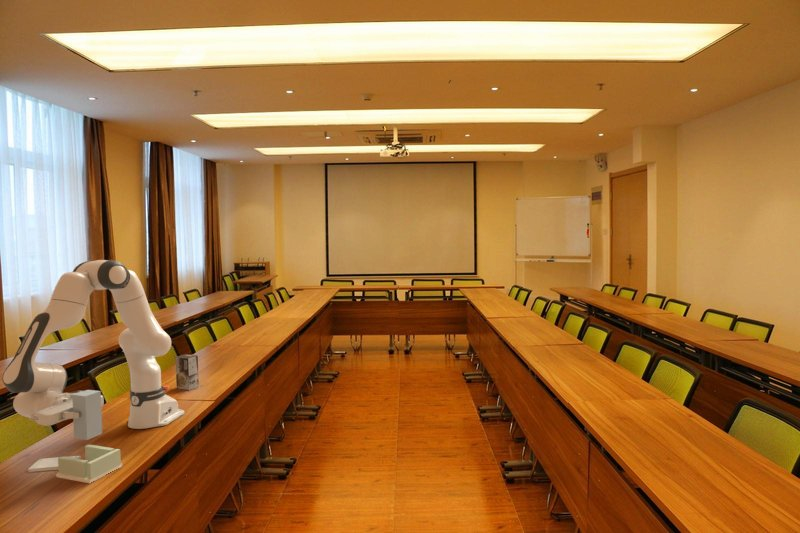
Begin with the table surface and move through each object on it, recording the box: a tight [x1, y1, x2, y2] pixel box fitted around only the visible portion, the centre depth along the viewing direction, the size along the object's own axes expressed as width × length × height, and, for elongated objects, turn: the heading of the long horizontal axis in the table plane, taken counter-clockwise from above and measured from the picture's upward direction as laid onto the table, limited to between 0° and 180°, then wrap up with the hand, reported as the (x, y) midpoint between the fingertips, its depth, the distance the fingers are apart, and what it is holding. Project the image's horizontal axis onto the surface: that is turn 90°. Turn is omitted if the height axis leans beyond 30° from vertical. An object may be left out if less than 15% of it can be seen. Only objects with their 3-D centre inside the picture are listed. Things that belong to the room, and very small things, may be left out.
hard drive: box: [27, 455, 82, 473], centre depth 169 cm, size 2×8×12 cm
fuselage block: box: [72, 389, 103, 441], centre depth 162 cm, size 6×6×14 cm
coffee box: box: [174, 354, 200, 391], centre depth 254 cm, size 9×6×16 cm
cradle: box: [55, 444, 123, 484], centre depth 163 cm, size 12×14×6 cm
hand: (89, 411), depth 162 cm, fingers closed on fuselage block, 5 cm apart
